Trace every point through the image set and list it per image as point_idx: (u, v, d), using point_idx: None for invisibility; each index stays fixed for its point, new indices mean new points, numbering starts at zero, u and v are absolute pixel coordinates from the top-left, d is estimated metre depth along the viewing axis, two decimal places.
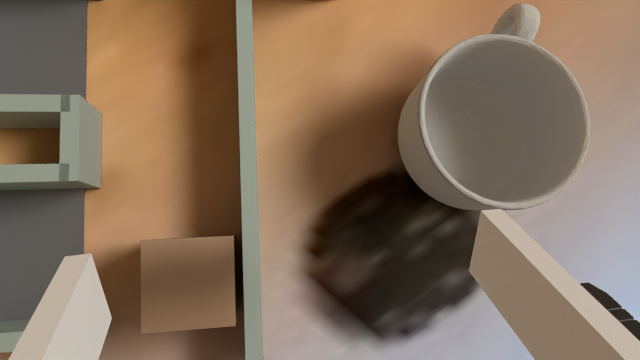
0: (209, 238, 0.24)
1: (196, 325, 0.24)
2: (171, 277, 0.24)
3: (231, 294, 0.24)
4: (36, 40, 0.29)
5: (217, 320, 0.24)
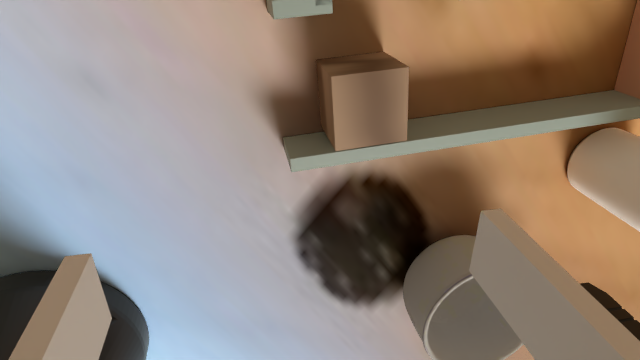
0: (406, 122, 0.29)
1: (336, 120, 0.28)
2: (376, 96, 0.27)
3: (360, 145, 0.29)
4: None
5: (339, 136, 0.28)
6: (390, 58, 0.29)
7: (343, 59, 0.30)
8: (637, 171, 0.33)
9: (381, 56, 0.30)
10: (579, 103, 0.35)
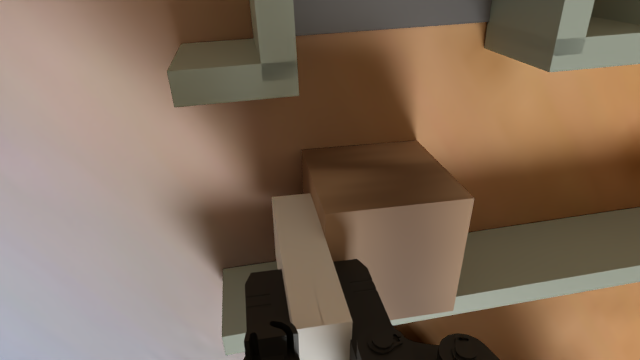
0: (456, 284, 0.16)
1: None
2: (408, 245, 0.15)
3: None
4: None
5: None
6: (432, 163, 0.16)
7: (349, 156, 0.17)
8: None
9: (415, 155, 0.17)
10: None
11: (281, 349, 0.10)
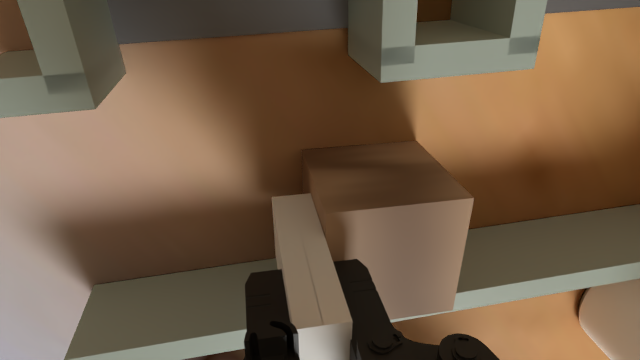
0: (455, 284, 0.16)
1: None
2: (408, 245, 0.15)
3: None
4: None
5: None
6: (432, 163, 0.17)
7: (349, 156, 0.17)
8: None
9: (415, 155, 0.17)
10: (606, 231, 0.21)
11: (281, 349, 0.10)
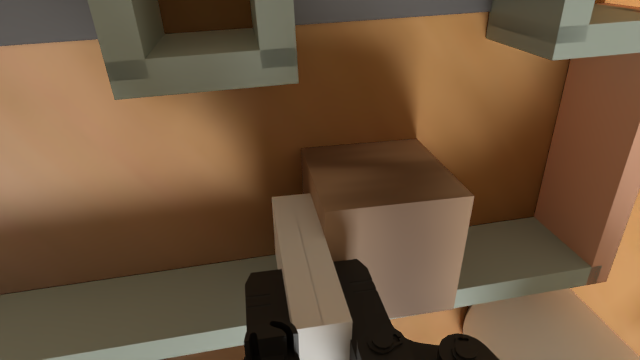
0: (456, 282, 0.16)
1: None
2: (408, 243, 0.15)
3: None
4: None
5: None
6: (432, 161, 0.16)
7: (349, 154, 0.17)
8: None
9: (415, 153, 0.17)
10: (464, 250, 0.20)
11: (281, 349, 0.10)
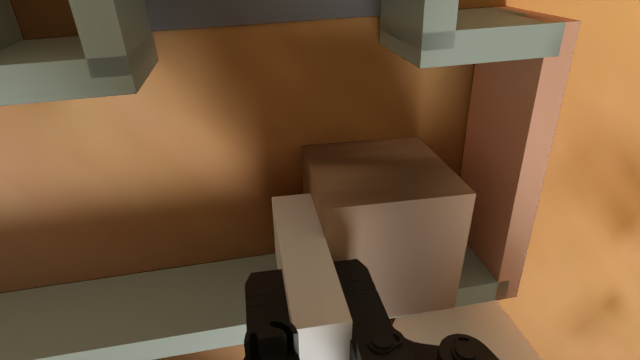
0: (457, 281, 0.16)
1: None
2: (409, 241, 0.14)
3: None
4: None
5: None
6: (434, 159, 0.16)
7: (349, 151, 0.17)
8: None
9: (417, 151, 0.17)
10: None
11: (281, 349, 0.10)
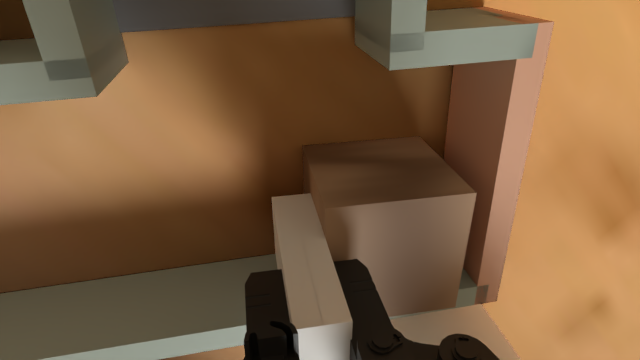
0: (458, 280, 0.16)
1: None
2: (409, 240, 0.14)
3: None
4: None
5: None
6: (434, 158, 0.16)
7: (350, 151, 0.17)
8: None
9: (417, 150, 0.17)
10: None
11: (281, 349, 0.10)
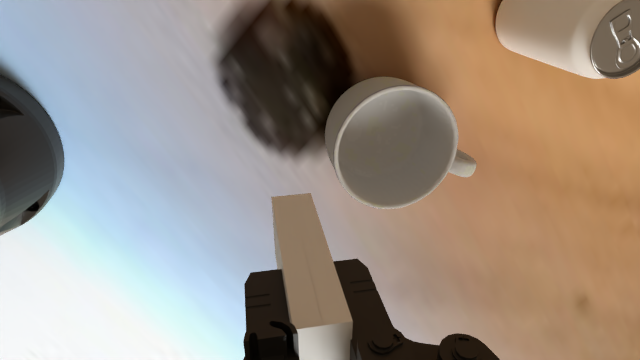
0: None
1: None
2: None
3: None
4: None
5: None
6: None
7: None
8: None
9: None
10: None
11: (281, 349, 0.10)
